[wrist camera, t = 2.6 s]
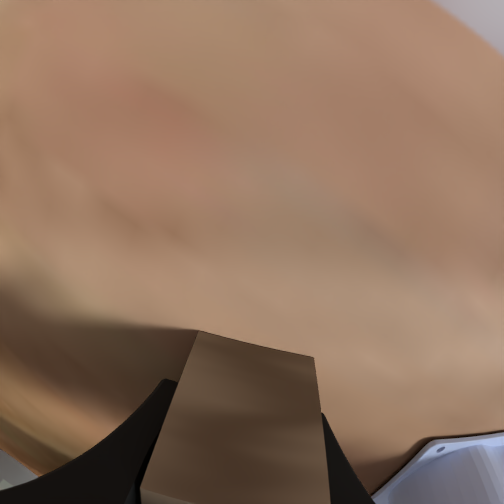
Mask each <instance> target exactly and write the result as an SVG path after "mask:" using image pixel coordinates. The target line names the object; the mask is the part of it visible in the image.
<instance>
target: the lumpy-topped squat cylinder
mask: <svg viewBox="0 0 504 504" xmlns="http://www.w3.org/2000/svg"><path fill="white" fill-rule="evenodd" d="M36 478H38V476H37V475H35V474H34V473H33V472H31V471H30V470H29V469H27V468H26V467H25V466H24V465H22V464H21V463H19V462H18V461H17V460H15V459H14V458H13V457H11V456H10V455H9V454H7V453H6V452H4V451H3V450H1V449H0V483H1V481H2V480H3V479H4V480H6V481H7V482H8V483H10V484H11V485H13V486H16V485H20V484H23V483H26V482H28V481H31V480H34V479H36Z"/></svg>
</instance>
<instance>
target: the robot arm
mask: <svg viewBox="0 0 504 504" xmlns="http://www.w3.org/2000/svg"><path fill="white" fill-rule="evenodd" d="M178 383H179V382H175V381H172V380H169V379H163V380H162V381H161V382H160V383H159V385H158V386H157V387H156V389H155V390H154V391H153V392H152V394H151V395H150V396H149V397H148V398H147V399H146V400H145V401H144V402H143V404H142V405H141V406H140V407H139V408H138V409H137V410H136V411H135V412H134V413H133V414H132V415H131V416H130V417H129V418H128V419H127V420H126V421H124V422H123V423H122V424H121V425H120V426H119V427H118V428H116V429H115V430H114V431H113V432H112V433H111V434H109V435H108V436H107V437H106V438H104V439H103V440H102V441H101V442H99V443H98V444H97V445H95V446H94V447H92V448H91V449H89V450H88V451H86V452H85V453H84V454H82V455H80V456H79V457H77V458H75V459H74V460H72V461H70V462H69V463H67V464H65V465H63V466H62V467H60V468H58V469H56V470H54V471H52V472H49V473H47V474H45V475H43V476H40V477H38V478H36V479H34V480H31V481H28V482H26V483H23V484H20V485H16V486H13V487H10V488H7V489H3V490H0V504H142V502H141V492H140V486H141V484H142V481H143V478H144V475H145V472H146V470H147V467H148V464H149V461H150V459H151V456H152V453H153V450H154V448H155V445H156V442H157V439H158V437H159V434H160V431H161V429H162V426H163V423H164V420H165V418H166V415H167V412H168V410H169V407H170V404H171V402H172V399H173V396H174V394H175V391H176V389H177V386H178ZM321 416H322V424H323V432H324V441H325V450H326V460H327V470H328V480H329V491H330V503H331V504H504V432H502V433H496V434H489V435H482V436H473V437H464V438H452V439H438V440H433V441H431V442H429V443H428V444H426V445H425V446H424V447H423V448H422V450H421V451H420V452H419V453H418V454H417V455H416V456H415V457H414V458H413V459H412V460H411V461H410V462H409V463H408V464H407V465H406V466H405V467H404V468H403V469H402V470H401V471H400V472H398V473H397V474H396V475H395V476H394V477H393V478H392V479H391V480H390V481H389V482H388V483H386V484H385V485H384V486H383V487H382V488H381V489H380V490H378V491H377V492H376V493H375V494H374V495H373V496H371V497H370V495H369V494H368V493H367V491H366V490H365V488H364V487H363V485H362V484H361V482H360V481H359V479H358V478H357V476H356V474H355V473H354V471H353V469H352V468H351V466H350V464H349V462H348V460H347V459H346V457H345V455H344V453H343V451H342V450H341V448H340V446H339V444H338V442H337V440H336V438H335V436H334V434H333V432H332V430H331V428H330V426H329V423H328V421H327V419H326V417H325V415H324V414H323V413H321Z"/></svg>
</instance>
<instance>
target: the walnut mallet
mask: <svg viewBox="0 0 504 504" xmlns="http://www.w3.org/2000/svg"><path fill="white" fill-rule="evenodd" d="M140 492H141V502H142V504H331V503H330V491H329V480H328V470H327V460H326V450H325V441H324V432H323V424H322V416H321V407H320V400H319V392H318V384H317V377H316V370H315V363H314V358H313V357H308V356H303V355H298V354H293V353H288V352H284V351H279V350H275V349H270V348H266V347H261V346H257V345H253V344H249V343H244V342H240V341H236V340H232V339H228V338H224V337H221V336H217V335H213V334H209V333H206V332H202V331H198V334H197V337H196V339H195V342H194V344H193V347H192V349H191V352H190V355H189V357H188V360H187V362H186V365H185V368H184V370H183V373H182V375H181V378H180V381H179V383H178V386H177V389H176V391H175V394H174V396H173V399H172V402H171V404H170V407H169V410H168V412H167V415H166V418H165V420H164V423H163V426H162V429H161V431H160V434H159V437H158V439H157V442H156V445H155V448H154V450H153V453H152V456H151V459H150V461H149V464H148V467H147V470H146V472H145V475H144V478H143V481H142V484H141V486H140Z"/></svg>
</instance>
